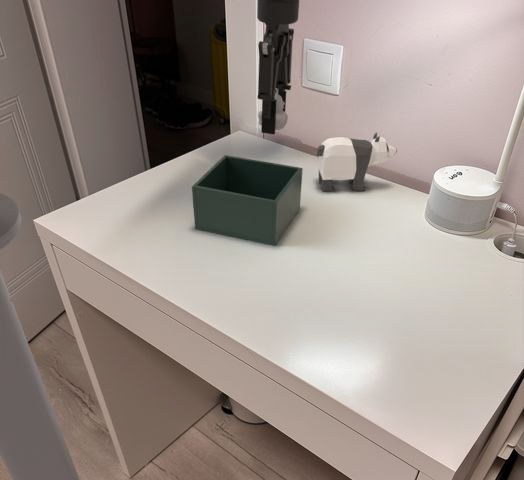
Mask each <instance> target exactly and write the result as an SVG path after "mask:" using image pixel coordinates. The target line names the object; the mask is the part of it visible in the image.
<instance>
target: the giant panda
mask: <svg viewBox="0 0 524 480" xmlns="http://www.w3.org/2000/svg"><path fill="white" fill-rule="evenodd" d="M316 151H317V152H316V156H317V157H318V183H319V184H321V187H320V188H321V190H322V191H323V192H333V191H334V192H335V189H336V188H335V186H334V185H333V184H332V183H333V181H334V180H335V181H336V180H337V181H345V180H348V182H349V183H352V190H353V191H356V192H357V191H359V192H360V191H361V192H362V191H366V190H367V187H366V185H364V182H365V177H366V174H367V171H368V168H369V167H371V166H375V165H380V164H383V163H384V162H386V161H387V160H388V159H390V158H393V156H395V155H396V154H397V151H398V149H397V148H396V147H393V146H392V145H390V144H388V142H387V140H386V138H384V136H380V135H379V136H378V132H375V133H374V134H373V138H372V140H370V141H369V140H366V139H357V138H349V137H342V136H338V137H330V138H327V139H325V140H324V141H323V142H322V143H321V144H320V145H319V146H318V148H317V150H316Z"/></svg>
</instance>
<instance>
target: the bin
mask: <svg viewBox="0 0 524 480" xmlns="http://www.w3.org/2000/svg"><path fill="white" fill-rule="evenodd" d="M303 170H304V169H303V167H299V166H292V165H287V164H280V163H275V162H270V161H263V160H258V159H252V158H246V157H241V156H240V157H239V156H235V155H234V156H233V155H227V154H224V155H223V156H222V157H221V158H220V159H219V160H218V161H217V162H216V163H215V164H214V165H213V166H211V167H210V169H209V170H207V171H206V172H204V174H203V175H202V176H201V177H200V178H199V179H197V181H196V182H195V183H193V185H191V193H192V194H191V195H192V207H193V219H194V220H193V221H194V229H195V230H200V231H204V232H209V233H214V234H218V235H222V236H227V237H232V238H233V237H234V238H238V239H243V240H246V241H251V242H257V243H261V244H266V245H272V246H276V245H277V244H278V242H279V241H280V239H281V238H282V236H283V235H284V233H286V230H287V229H288V228H289V226H290V224H291V223H292V221H293V220H294V218H295V217H296V216H297V214H298V213H299V211H300V209H301V199H302V198H301V197H302V185H303V184H302V182H303Z"/></svg>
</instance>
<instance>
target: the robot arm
mask: <svg viewBox="0 0 524 480" xmlns="http://www.w3.org/2000/svg"><path fill="white" fill-rule="evenodd" d="M256 5H257V9H256V11H257V13H256V14H257V15H256V16H257V18H256V19H257V20H258V21H259V22H261V23H264V24H265V31H264V34H263V38H262V39H263V41H260V40H259V41H258V44H257V45H258V79H257V80H258V85H257V100H261V111H262V125H261V131H260V132H261V134H267V135H275V134H276V130H275V125H276V102H277V100H274V99H275V93H276V91H277V89H278V95H280V96H281V97H282V100H283V102H284V103H285V104H284V108H283V111H284V112H285V113H286V108H287V107H286V105H287V91H291V90H292V85H291V81H292V79H291V78H292V59H293V41H294V34H295V28H290V25H293V24H295V23H297V22H298V20H299V15H300V14H299V13H300V0H257V4H256Z"/></svg>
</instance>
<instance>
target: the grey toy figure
mask: <svg viewBox="0 0 524 480" xmlns="http://www.w3.org/2000/svg"><path fill="white" fill-rule="evenodd" d="M276 90H277V91H276V93H275V99H274V100H277V102H276V125H275V131H280V130H283V129H284V128H285V127H286V125H287V124H288V120H289V118H288V117H289V116H288V114H287V112H286V111H285V112H284V111H283V108H284V104H285V103H284V102H283V100H282V97H281V96H280V95H278V89H277V88H276ZM257 117H258V125H259V126H262V110H261V111H259V112H257Z"/></svg>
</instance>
